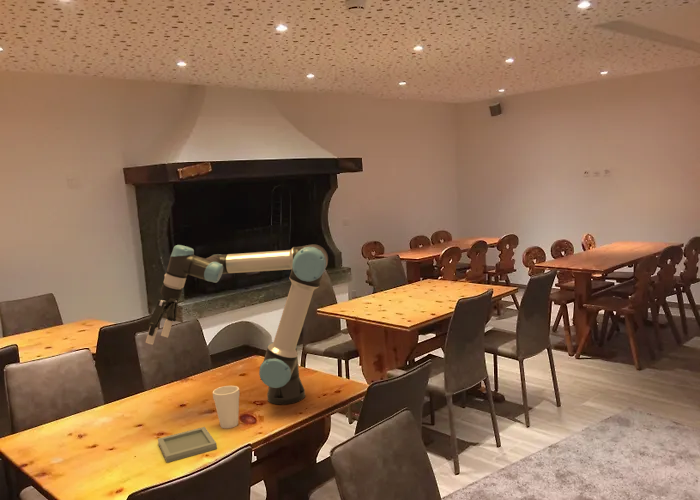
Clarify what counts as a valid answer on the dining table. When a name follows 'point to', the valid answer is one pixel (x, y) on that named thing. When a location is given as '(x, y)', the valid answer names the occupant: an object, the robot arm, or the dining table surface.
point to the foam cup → (227, 405)
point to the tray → (186, 444)
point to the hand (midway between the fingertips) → (157, 339)
